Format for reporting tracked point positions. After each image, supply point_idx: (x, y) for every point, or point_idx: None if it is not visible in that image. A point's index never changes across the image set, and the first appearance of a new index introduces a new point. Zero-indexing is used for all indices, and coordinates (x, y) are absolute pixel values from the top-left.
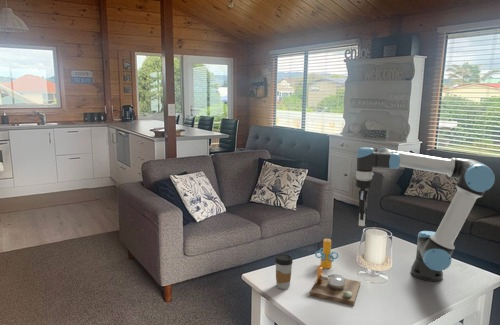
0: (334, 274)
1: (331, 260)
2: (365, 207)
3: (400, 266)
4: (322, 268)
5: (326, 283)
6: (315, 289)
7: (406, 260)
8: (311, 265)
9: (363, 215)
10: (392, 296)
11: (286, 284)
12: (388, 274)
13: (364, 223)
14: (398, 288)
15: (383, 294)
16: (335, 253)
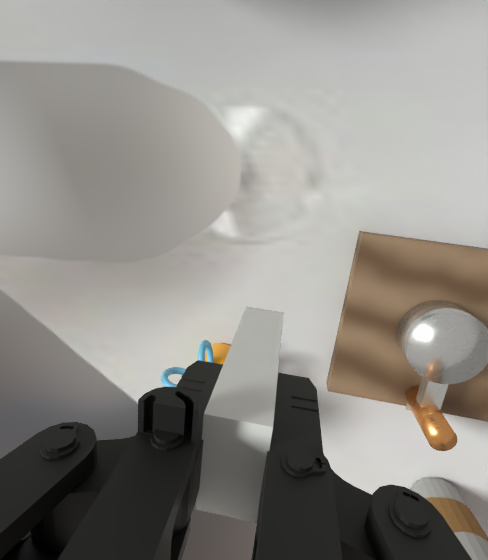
0: (411, 357)
1: None
2: (50, 492)
3: (103, 38)
4: (450, 430)
5: (412, 367)
6: (474, 405)
7: (22, 3)
8: None
9: (274, 419)
10: (432, 88)
11: (463, 501)
12: (212, 102)
13: (265, 322)
14: (344, 56)
15: (421, 130)
16: (204, 360)
